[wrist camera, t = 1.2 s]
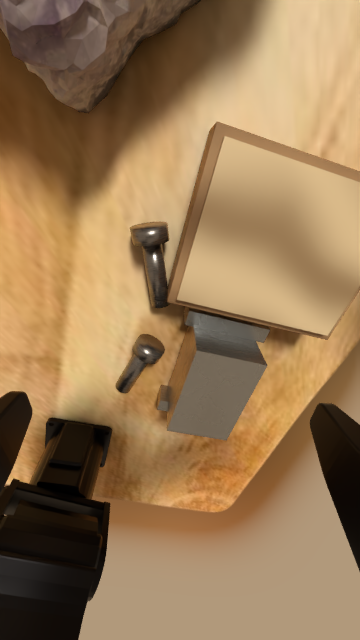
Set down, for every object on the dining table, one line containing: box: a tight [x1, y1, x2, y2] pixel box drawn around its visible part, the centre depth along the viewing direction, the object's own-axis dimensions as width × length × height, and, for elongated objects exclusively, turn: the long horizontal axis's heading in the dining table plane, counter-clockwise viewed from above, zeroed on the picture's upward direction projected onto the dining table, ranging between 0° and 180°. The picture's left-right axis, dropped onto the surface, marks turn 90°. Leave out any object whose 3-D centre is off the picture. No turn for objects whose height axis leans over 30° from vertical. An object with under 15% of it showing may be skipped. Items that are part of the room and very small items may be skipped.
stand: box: [167, 122, 360, 340], centre depth 17 cm, size 10×12×3 cm
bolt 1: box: [130, 222, 170, 308], centre depth 18 cm, size 6×2×2 cm, turn 6°
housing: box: [157, 306, 270, 440], centre depth 21 cm, size 10×6×5 cm, turn 165°
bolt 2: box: [116, 334, 165, 393], centre depth 22 cm, size 6×2×2 cm, turn 150°
